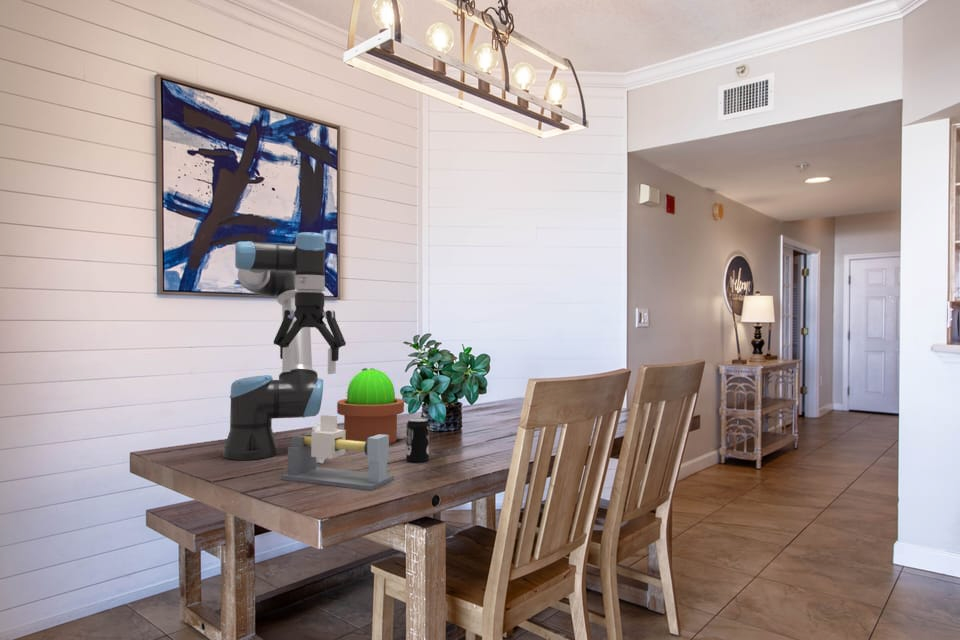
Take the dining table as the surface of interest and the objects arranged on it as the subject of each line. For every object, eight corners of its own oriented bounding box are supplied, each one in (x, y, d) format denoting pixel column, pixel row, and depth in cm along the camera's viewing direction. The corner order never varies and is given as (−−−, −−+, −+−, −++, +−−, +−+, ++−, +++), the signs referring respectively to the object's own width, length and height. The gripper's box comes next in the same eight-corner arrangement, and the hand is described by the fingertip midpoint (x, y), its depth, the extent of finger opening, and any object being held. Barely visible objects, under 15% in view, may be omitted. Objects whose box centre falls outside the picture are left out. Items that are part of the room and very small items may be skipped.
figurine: (339, 462, 173) (339, 420, 173) (324, 465, 169) (324, 422, 169) (316, 457, 180) (317, 416, 180) (302, 460, 176) (302, 418, 176)
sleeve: (311, 456, 154) (311, 416, 154) (325, 451, 160) (326, 413, 160) (331, 458, 152) (331, 417, 152) (345, 453, 158) (345, 414, 158)
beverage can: (425, 463, 173) (425, 421, 173) (403, 462, 174) (403, 420, 174) (431, 458, 179) (432, 418, 179) (410, 457, 181) (410, 417, 181)
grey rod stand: (282, 479, 154) (282, 432, 154) (308, 469, 164) (309, 426, 165) (371, 490, 145) (372, 441, 145) (393, 479, 155) (394, 433, 155)
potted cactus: (399, 448, 193) (400, 369, 193) (330, 448, 193) (331, 369, 193) (406, 435, 215) (407, 365, 215) (344, 435, 215) (345, 364, 215)
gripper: (260, 291, 160) (259, 372, 160) (344, 291, 153) (343, 375, 153) (277, 292, 167) (277, 369, 167) (359, 292, 160) (358, 373, 160)
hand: (308, 372), depth 160 cm, fingers open, 13 cm apart
